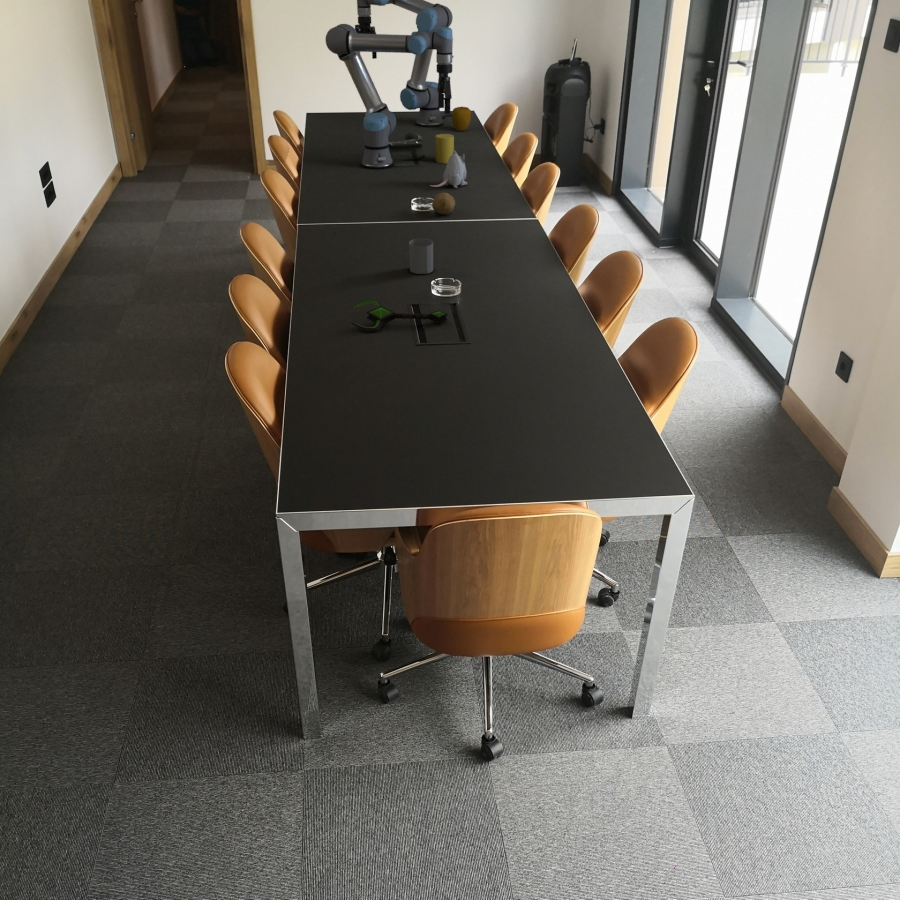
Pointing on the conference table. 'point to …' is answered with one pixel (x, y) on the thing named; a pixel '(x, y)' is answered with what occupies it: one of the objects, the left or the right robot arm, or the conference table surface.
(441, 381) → the conference table surface
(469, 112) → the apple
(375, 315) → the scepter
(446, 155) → the canister
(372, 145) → the left robot arm
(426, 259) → the cup
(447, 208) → the potato
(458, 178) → the toy
